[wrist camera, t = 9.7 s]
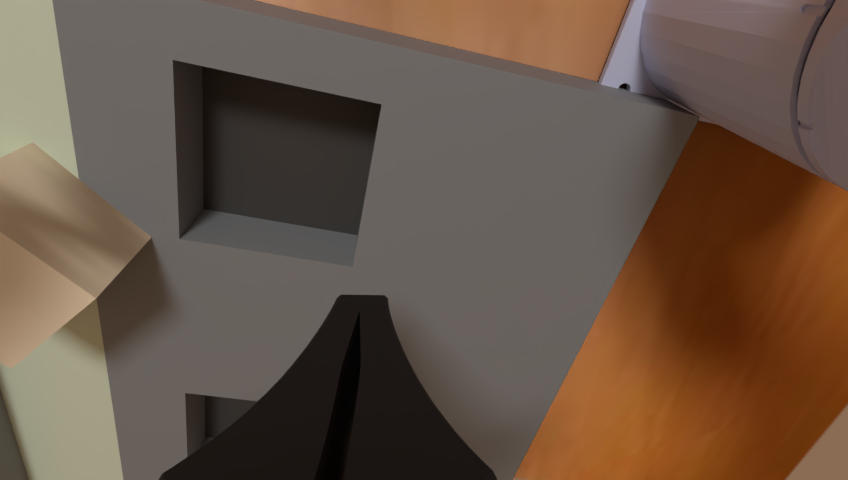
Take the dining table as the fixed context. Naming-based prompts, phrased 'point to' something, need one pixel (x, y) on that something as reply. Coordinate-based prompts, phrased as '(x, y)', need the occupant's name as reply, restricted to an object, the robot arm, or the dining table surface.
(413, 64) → the board
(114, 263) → the birch block
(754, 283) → the dining table surface
